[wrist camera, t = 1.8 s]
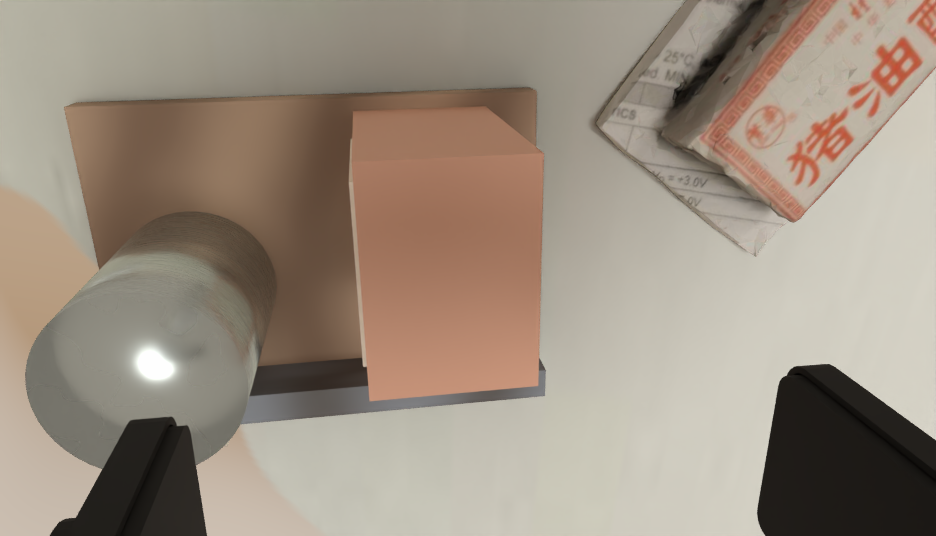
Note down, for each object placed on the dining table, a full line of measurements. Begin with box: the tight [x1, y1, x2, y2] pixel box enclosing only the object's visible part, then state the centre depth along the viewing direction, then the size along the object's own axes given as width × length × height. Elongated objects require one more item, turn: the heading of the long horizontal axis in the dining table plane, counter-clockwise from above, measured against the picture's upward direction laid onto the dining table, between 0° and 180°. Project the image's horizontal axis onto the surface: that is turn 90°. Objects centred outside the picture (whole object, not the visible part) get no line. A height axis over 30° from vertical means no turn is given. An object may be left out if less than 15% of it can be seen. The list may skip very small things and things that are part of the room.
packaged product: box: [596, 0, 936, 257], centre depth 27 cm, size 18×5×10 cm
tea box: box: [349, 106, 544, 401], centre depth 23 cm, size 7×5×9 cm
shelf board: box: [64, 88, 546, 424], centre depth 27 cm, size 17×12×4 cm
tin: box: [25, 211, 277, 469], centre depth 24 cm, size 6×6×8 cm
